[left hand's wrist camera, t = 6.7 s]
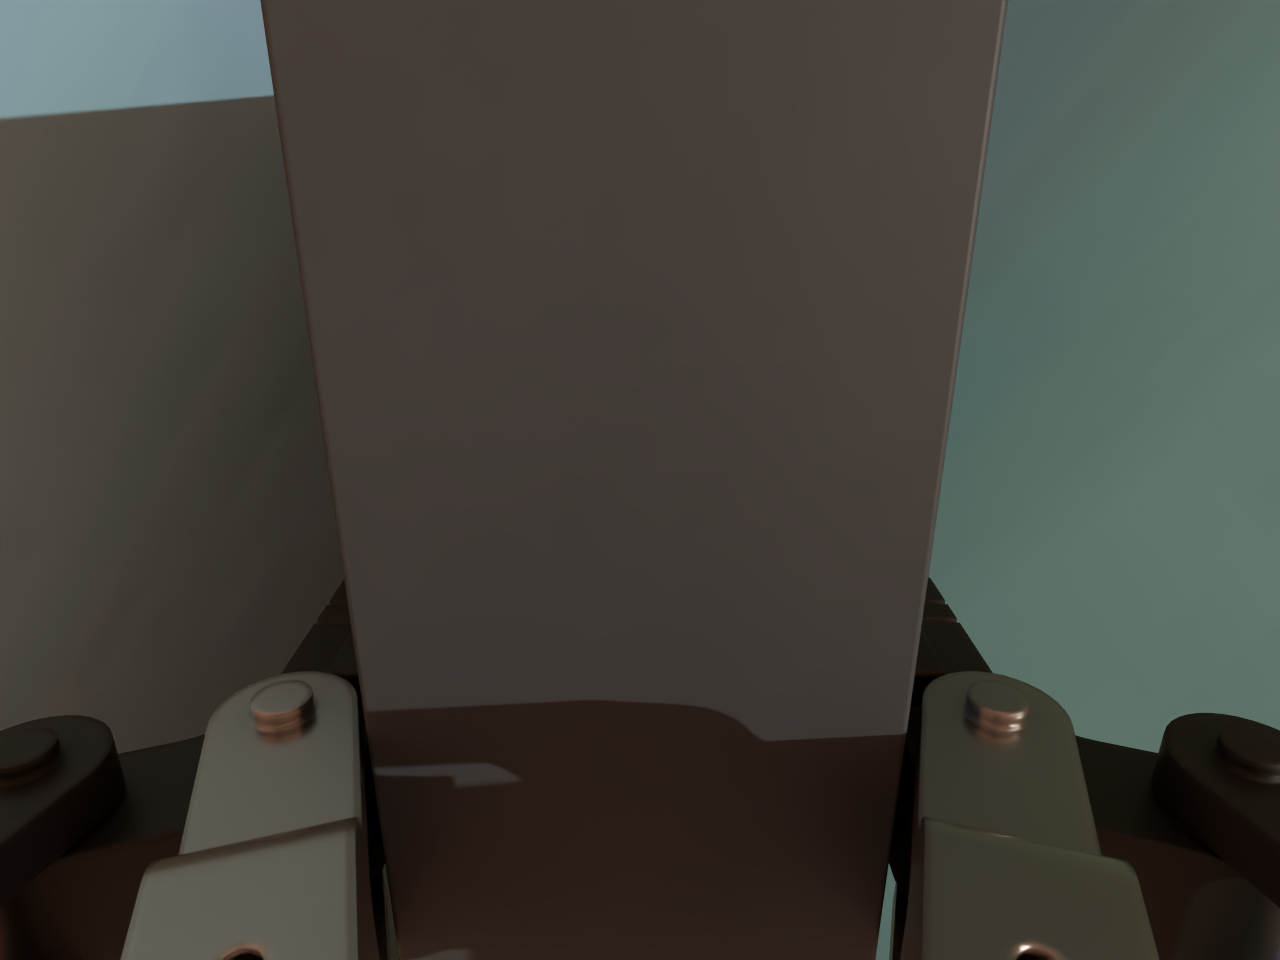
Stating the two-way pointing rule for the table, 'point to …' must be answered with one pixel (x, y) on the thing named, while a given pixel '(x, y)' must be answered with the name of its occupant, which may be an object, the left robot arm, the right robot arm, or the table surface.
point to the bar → (635, 444)
